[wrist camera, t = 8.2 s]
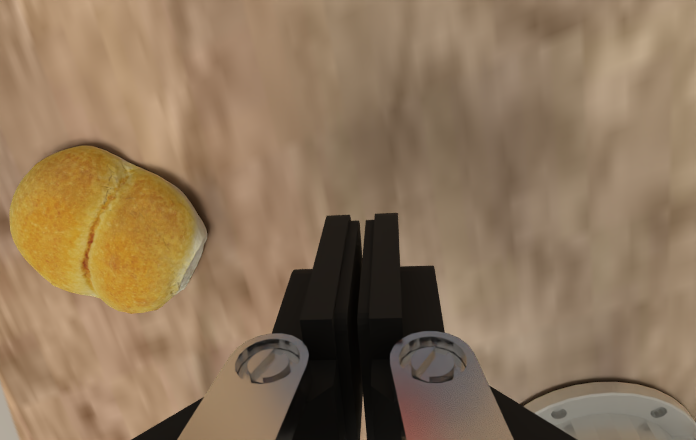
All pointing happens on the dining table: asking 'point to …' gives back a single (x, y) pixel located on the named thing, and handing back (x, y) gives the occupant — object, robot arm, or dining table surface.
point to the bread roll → (106, 229)
